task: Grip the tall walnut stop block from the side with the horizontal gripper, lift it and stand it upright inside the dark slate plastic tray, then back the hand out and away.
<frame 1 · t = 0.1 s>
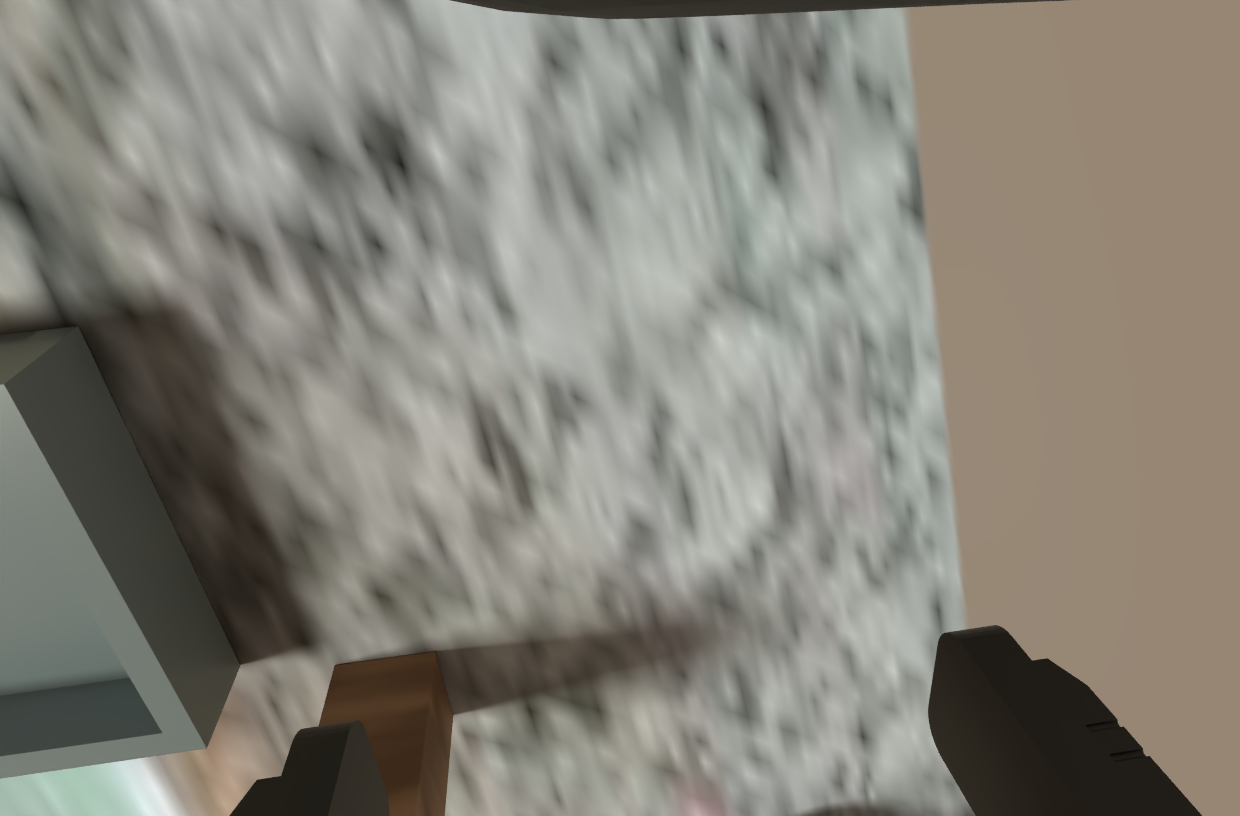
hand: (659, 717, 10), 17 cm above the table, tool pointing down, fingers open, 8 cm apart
walnut stop block: (396, 691, 34), on the table
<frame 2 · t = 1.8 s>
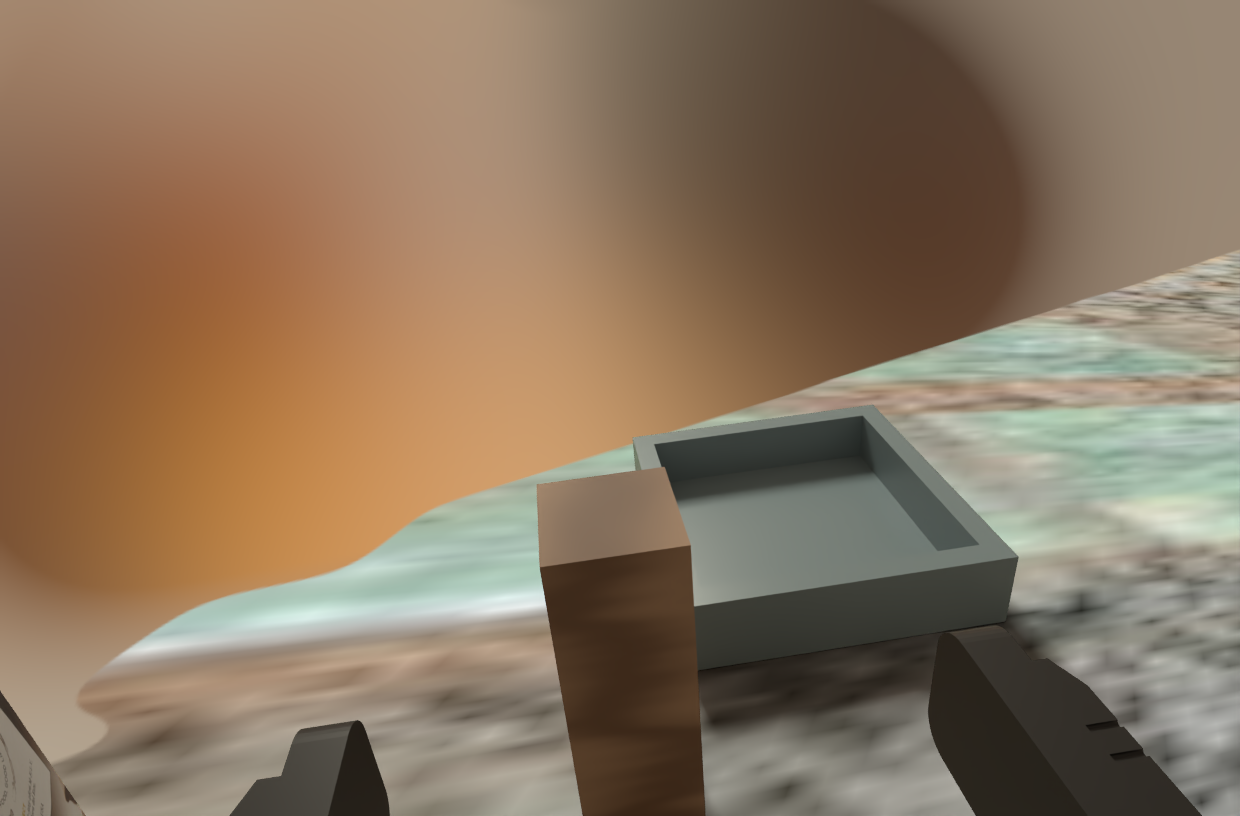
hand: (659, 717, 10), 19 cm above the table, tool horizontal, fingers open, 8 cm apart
walnut stop block: (640, 798, 30), on the table
slate tray: (793, 545, 43), on the table
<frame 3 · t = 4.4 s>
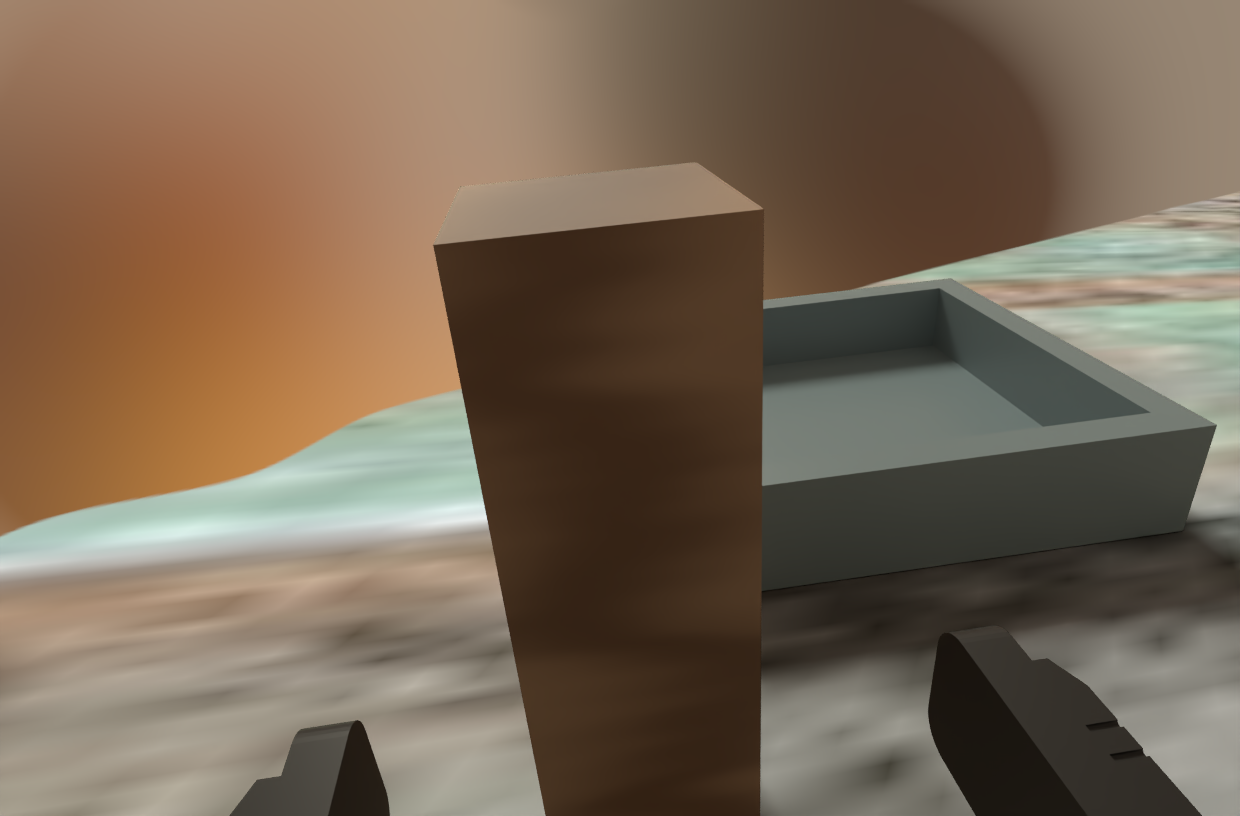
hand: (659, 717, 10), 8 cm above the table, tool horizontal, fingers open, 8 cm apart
walnut stop block: (646, 781, 18), on the table
slate tray: (854, 444, 31), on the table
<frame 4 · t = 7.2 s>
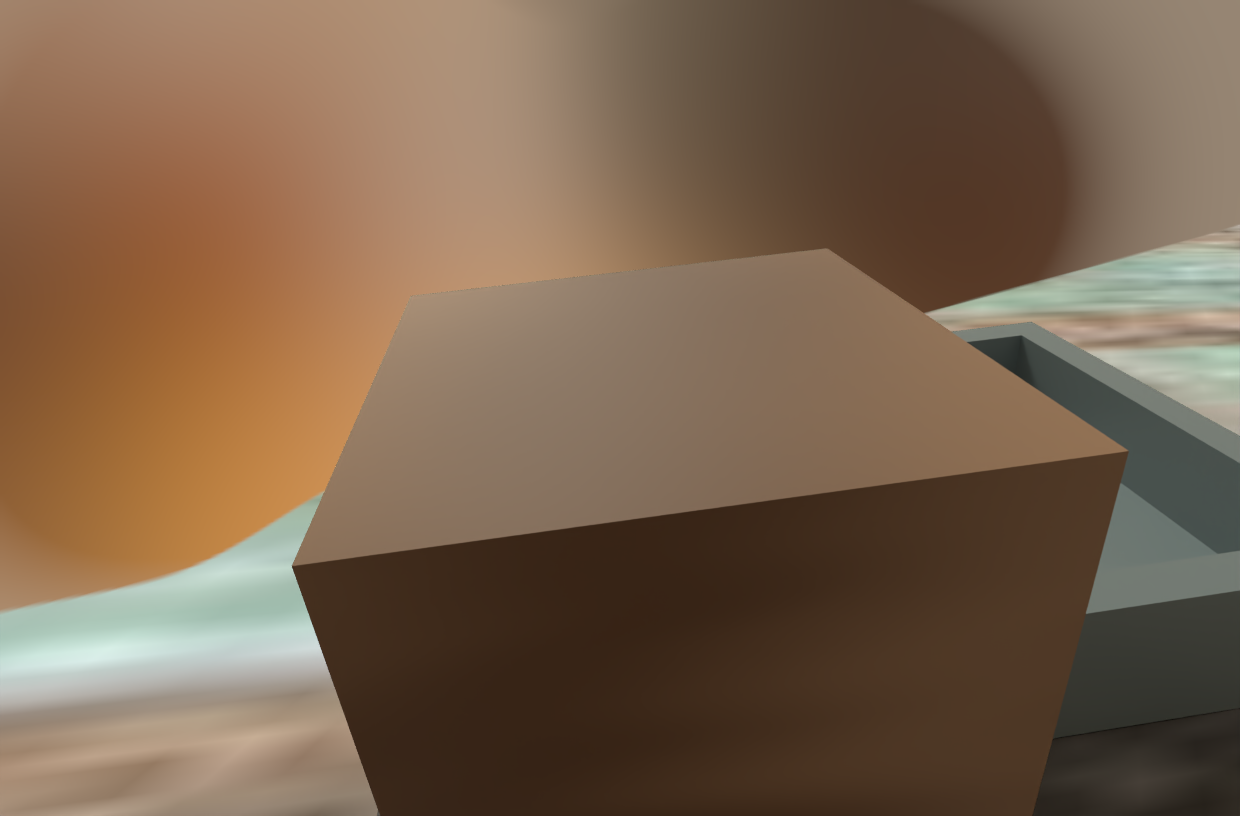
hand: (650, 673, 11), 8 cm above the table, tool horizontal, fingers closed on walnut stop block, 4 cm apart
slate tray: (932, 537, 25), on the table
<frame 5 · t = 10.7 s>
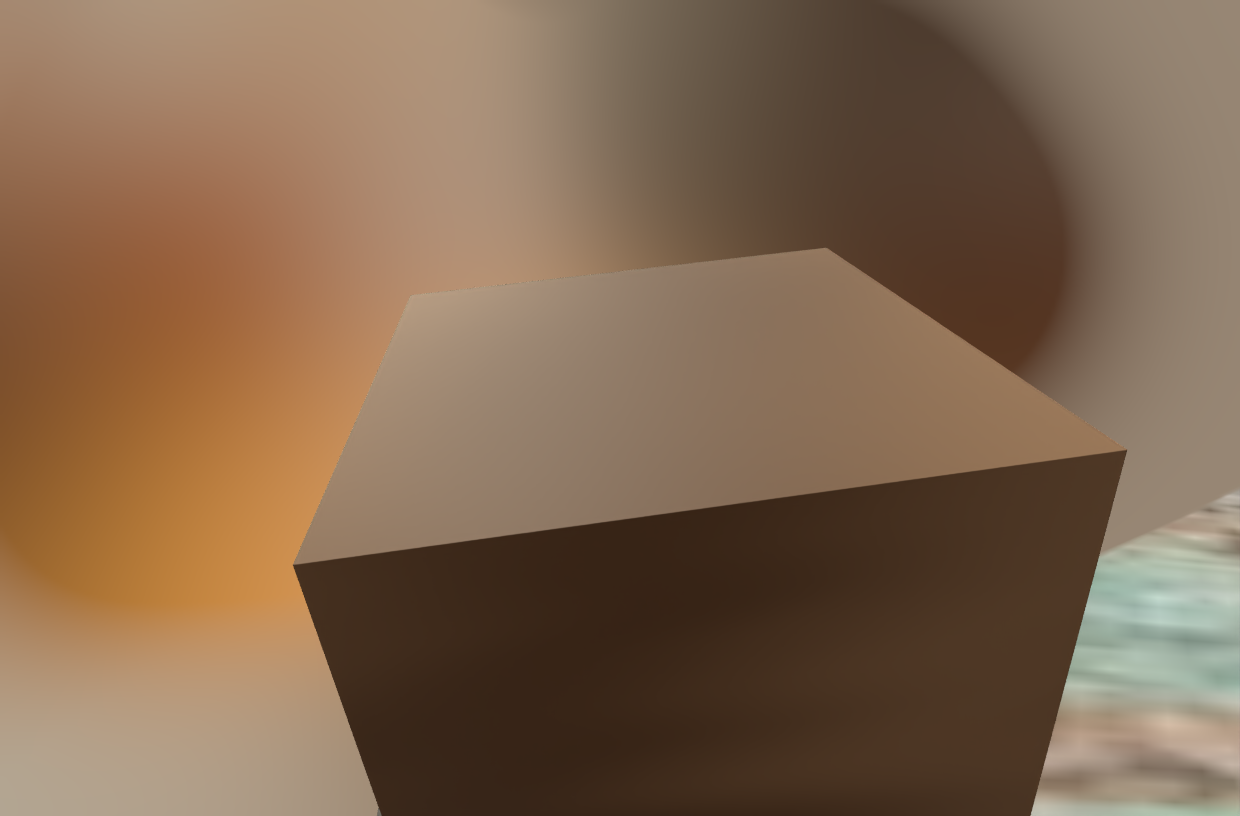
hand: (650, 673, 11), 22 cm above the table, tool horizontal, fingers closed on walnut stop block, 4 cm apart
when the fingers open (10 cm above the table, at t = 14.3 s): walnut stop block drops 1 cm, resting on slate tray.
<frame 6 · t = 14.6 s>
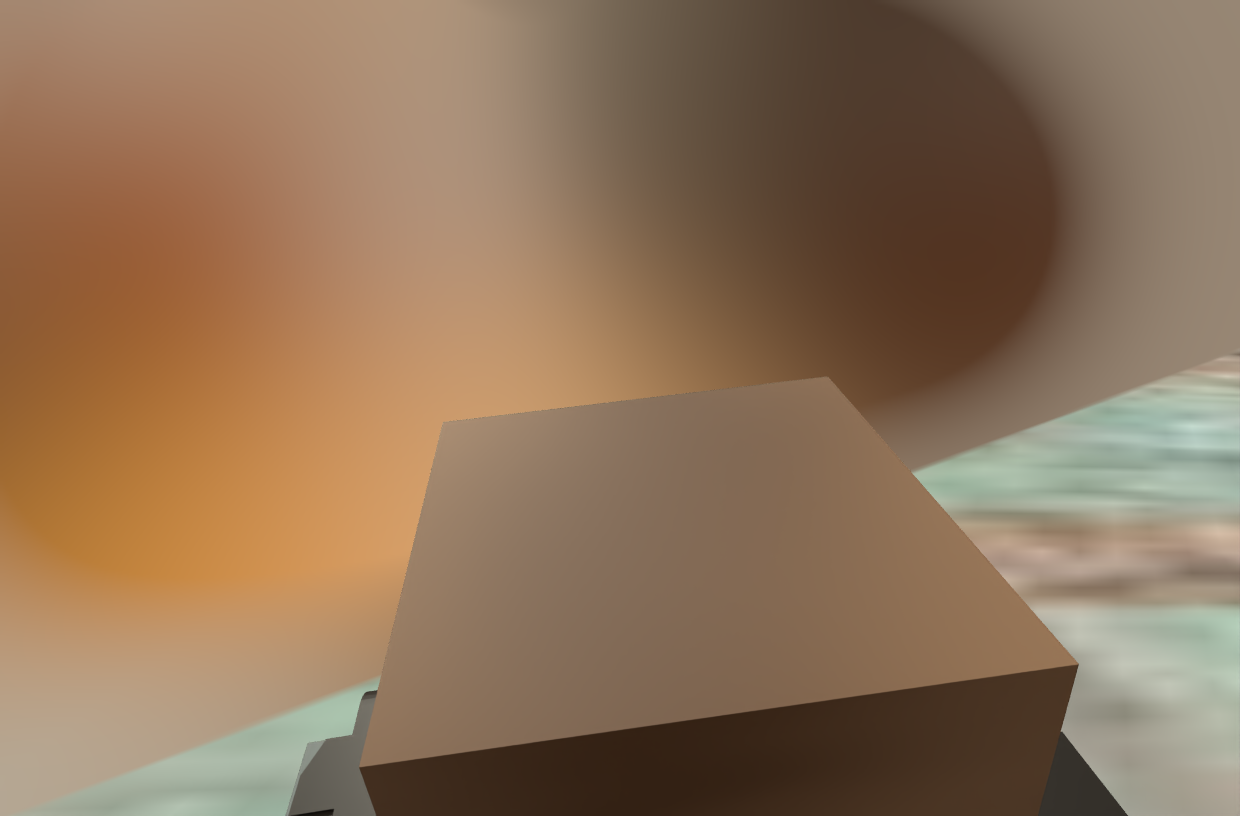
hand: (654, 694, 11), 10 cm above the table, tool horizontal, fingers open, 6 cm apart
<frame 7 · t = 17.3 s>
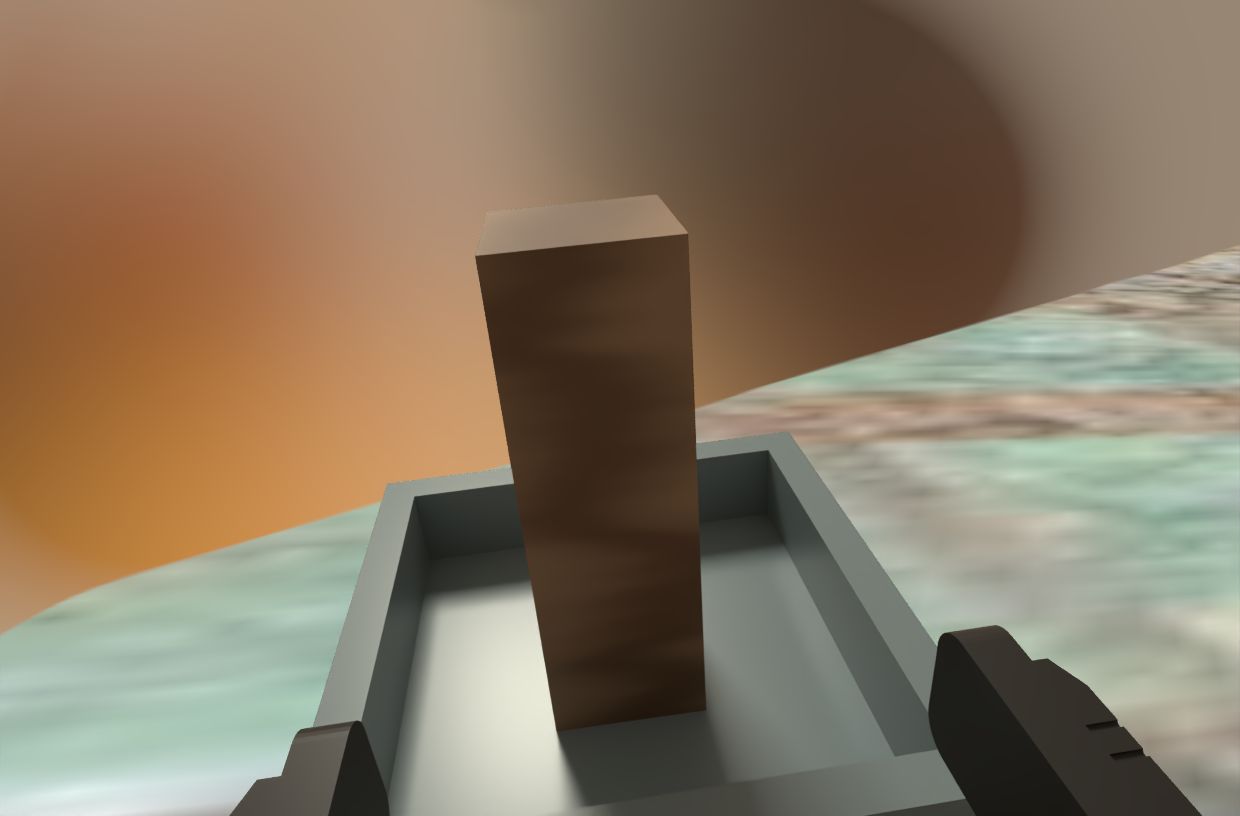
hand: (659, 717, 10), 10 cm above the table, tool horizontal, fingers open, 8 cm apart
walnut stop block: (623, 664, 23), point 1 cm above the table, touching slate tray
slate tray: (624, 686, 24), on the table
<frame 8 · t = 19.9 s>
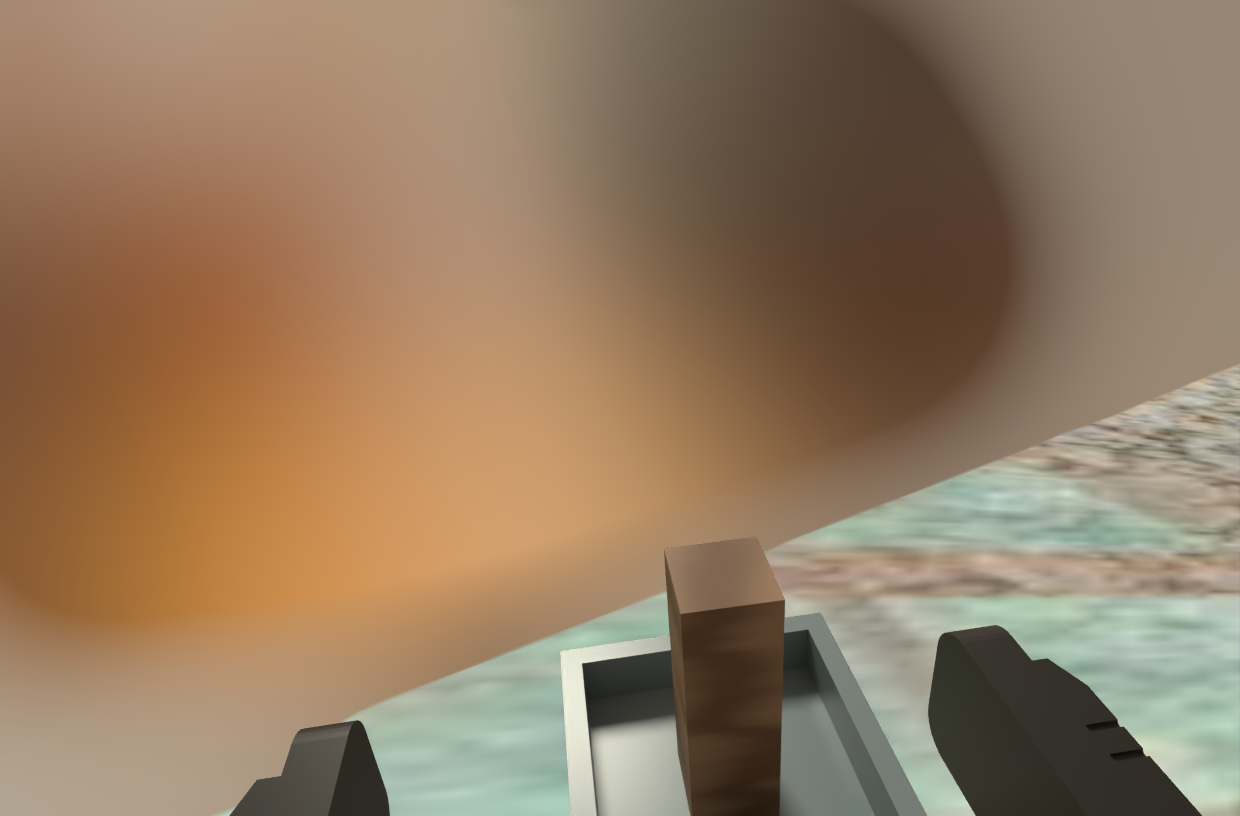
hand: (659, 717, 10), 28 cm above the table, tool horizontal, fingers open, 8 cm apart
walnut stop block: (726, 782, 39), point 1 cm above the table, touching slate tray
slate tray: (725, 794, 39), on the table
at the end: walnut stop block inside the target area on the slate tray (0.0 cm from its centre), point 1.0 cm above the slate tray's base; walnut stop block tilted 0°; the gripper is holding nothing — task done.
